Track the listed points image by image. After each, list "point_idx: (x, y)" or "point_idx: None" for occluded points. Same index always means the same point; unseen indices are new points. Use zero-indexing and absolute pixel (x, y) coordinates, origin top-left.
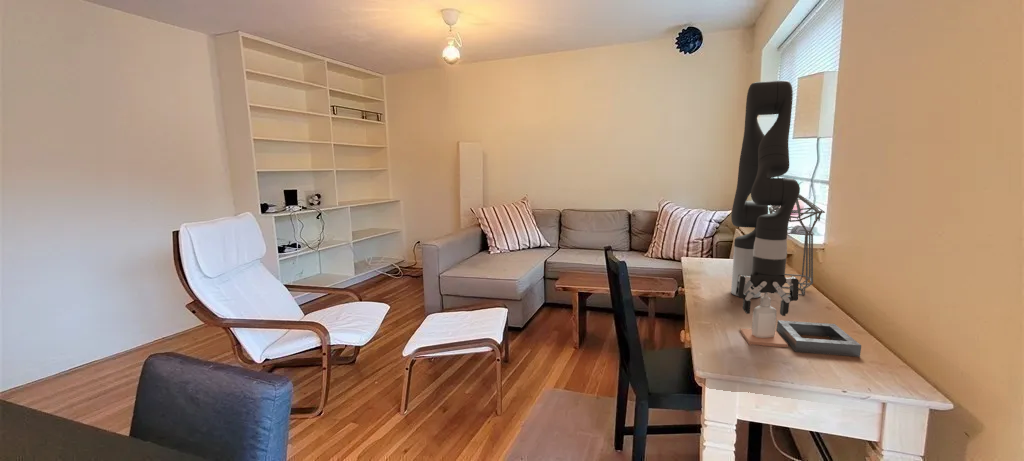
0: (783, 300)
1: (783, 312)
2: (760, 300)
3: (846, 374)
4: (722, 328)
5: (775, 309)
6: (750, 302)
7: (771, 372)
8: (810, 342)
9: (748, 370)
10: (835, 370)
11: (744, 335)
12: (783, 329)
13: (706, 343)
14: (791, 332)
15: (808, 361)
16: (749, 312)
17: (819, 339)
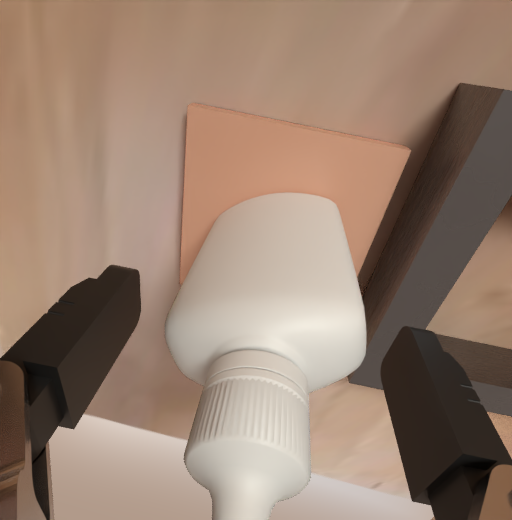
0: (448, 502)
1: (389, 397)
2: (196, 413)
3: (386, 447)
4: (87, 50)
5: (351, 371)
6: (80, 415)
7: (186, 423)
8: None
9: (130, 411)
10: (374, 432)
11: (184, 205)
12: (421, 224)
13: (9, 259)
14: (402, 310)
15: (335, 392)
16: (130, 330)
17: (473, 383)
